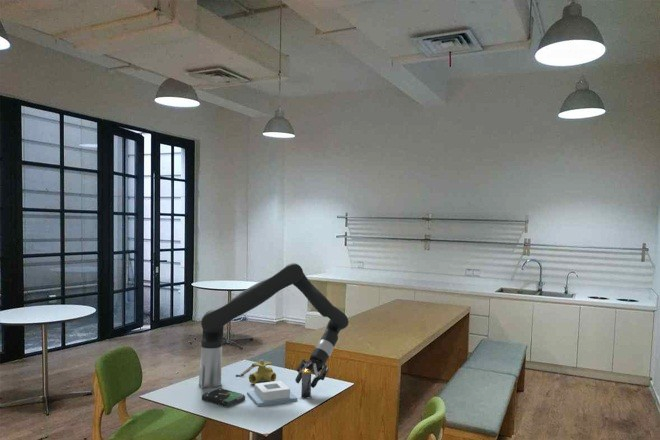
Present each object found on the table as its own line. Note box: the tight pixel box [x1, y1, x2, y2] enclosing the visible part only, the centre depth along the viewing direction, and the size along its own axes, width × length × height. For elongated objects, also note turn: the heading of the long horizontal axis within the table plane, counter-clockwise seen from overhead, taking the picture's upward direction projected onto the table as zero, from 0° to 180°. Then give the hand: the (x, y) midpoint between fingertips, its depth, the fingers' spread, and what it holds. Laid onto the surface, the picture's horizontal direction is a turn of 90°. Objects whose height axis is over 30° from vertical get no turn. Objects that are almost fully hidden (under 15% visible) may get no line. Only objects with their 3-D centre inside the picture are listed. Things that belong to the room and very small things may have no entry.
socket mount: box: [246, 380, 298, 407], centre depth 194 cm, size 17×15×5 cm
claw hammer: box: [235, 363, 255, 378], centre depth 230 cm, size 21×7×1 cm, turn 166°
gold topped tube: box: [301, 368, 312, 399], centre depth 197 cm, size 4×4×11 cm
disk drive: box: [201, 387, 246, 408], centre depth 190 cm, size 10×3×15 cm
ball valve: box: [248, 359, 277, 385], centre depth 214 cm, size 13×10×10 cm
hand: (304, 384), depth 196 cm, fingers open, 8 cm apart
